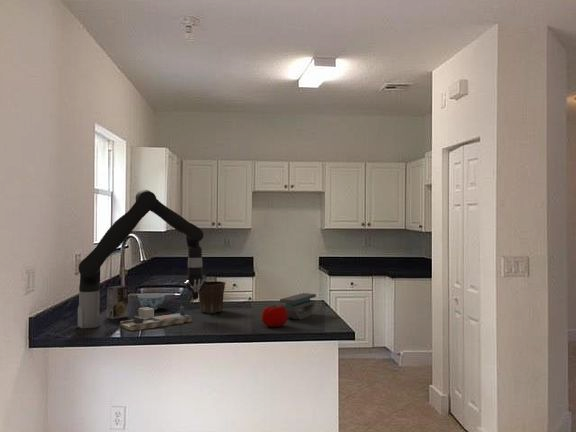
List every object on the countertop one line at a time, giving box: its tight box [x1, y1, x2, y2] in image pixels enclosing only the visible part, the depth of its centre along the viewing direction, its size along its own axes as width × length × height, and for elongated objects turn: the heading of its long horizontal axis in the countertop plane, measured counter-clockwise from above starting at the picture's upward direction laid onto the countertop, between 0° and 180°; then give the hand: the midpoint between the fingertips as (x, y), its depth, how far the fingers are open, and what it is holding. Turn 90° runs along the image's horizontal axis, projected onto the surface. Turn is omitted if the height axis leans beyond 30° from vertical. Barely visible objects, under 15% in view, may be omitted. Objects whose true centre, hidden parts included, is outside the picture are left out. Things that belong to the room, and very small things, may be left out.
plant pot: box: [198, 280, 227, 314], centre depth 292 cm, size 16×16×16 cm
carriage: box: [152, 306, 191, 321], centre depth 263 cm, size 16×9×5 cm, turn 131°
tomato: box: [261, 304, 288, 328], centre depth 252 cm, size 11×13×10 cm
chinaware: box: [137, 293, 166, 311], centre depth 300 cm, size 15×15×8 cm
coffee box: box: [106, 285, 129, 320], centre depth 276 cm, size 9×6×16 cm
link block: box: [138, 307, 155, 318], centre depth 268 cm, size 5×7×6 cm
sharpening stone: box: [279, 292, 317, 320], centre depth 276 cm, size 25×8×11 cm, turn 150°
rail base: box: [119, 312, 193, 332], centre depth 258 cm, size 32×13×4 cm, turn 131°
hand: (195, 299), depth 272 cm, fingers closed
